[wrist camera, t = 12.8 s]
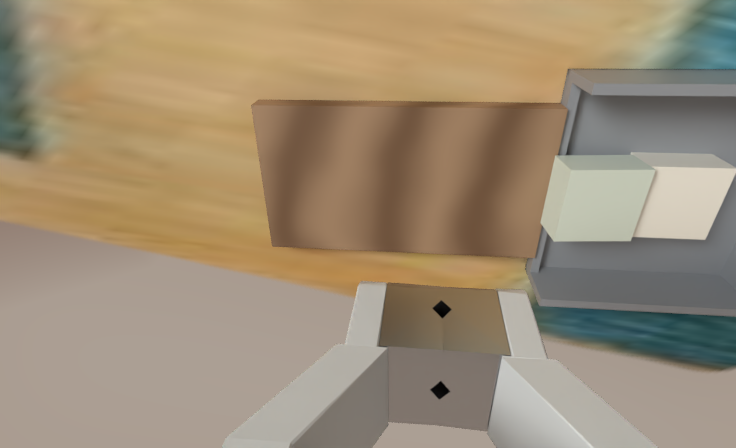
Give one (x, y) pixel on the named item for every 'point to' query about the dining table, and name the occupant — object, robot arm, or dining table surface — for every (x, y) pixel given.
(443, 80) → the dining table surface
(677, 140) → the grey bin
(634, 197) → the sage tile
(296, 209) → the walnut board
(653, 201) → the cream tile
